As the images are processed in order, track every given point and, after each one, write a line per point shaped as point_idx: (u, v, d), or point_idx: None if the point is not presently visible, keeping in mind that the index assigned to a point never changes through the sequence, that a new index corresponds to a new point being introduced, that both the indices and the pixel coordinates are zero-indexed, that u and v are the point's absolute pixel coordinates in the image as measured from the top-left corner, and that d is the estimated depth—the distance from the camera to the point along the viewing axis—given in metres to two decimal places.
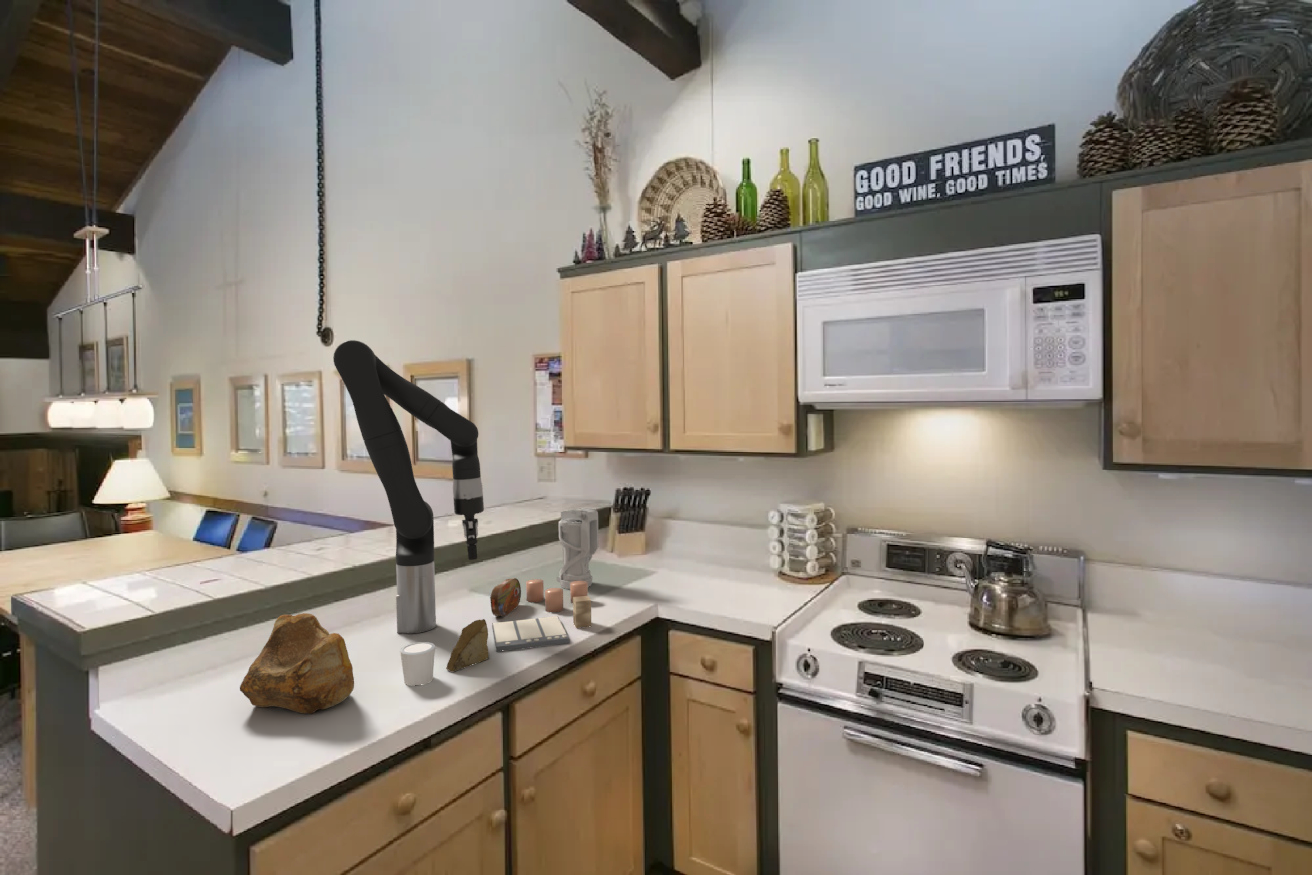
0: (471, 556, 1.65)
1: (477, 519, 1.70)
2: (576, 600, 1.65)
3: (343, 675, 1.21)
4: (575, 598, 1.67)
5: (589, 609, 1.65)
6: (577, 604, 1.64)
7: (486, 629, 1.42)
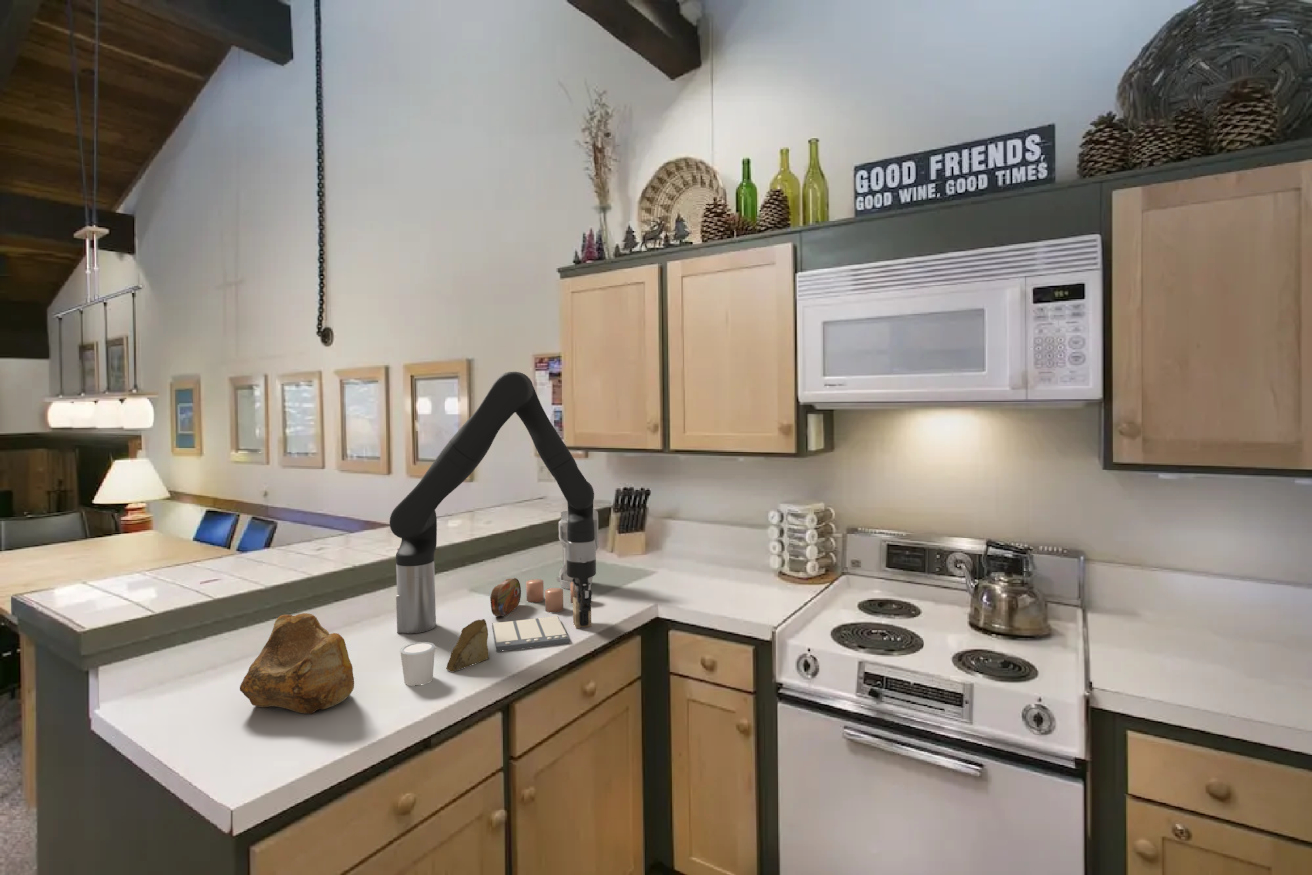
0: (583, 622, 1.63)
1: None
2: (576, 600, 1.65)
3: (343, 675, 1.21)
4: (575, 598, 1.66)
5: None
6: (577, 604, 1.64)
7: (486, 629, 1.42)
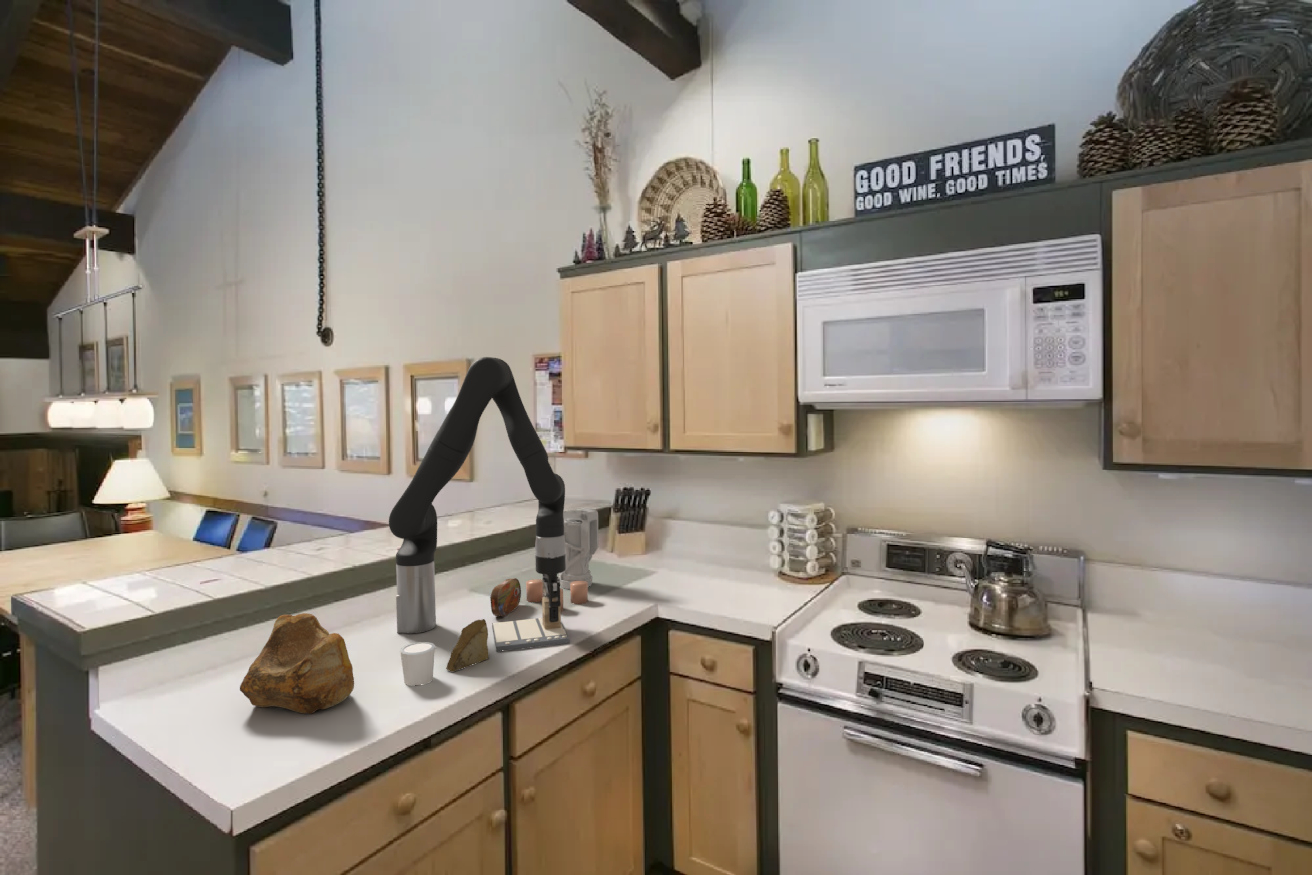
0: (553, 619, 1.57)
1: None
2: (545, 600, 1.60)
3: (343, 675, 1.21)
4: (544, 598, 1.62)
5: (558, 609, 1.61)
6: (546, 604, 1.59)
7: (486, 629, 1.42)
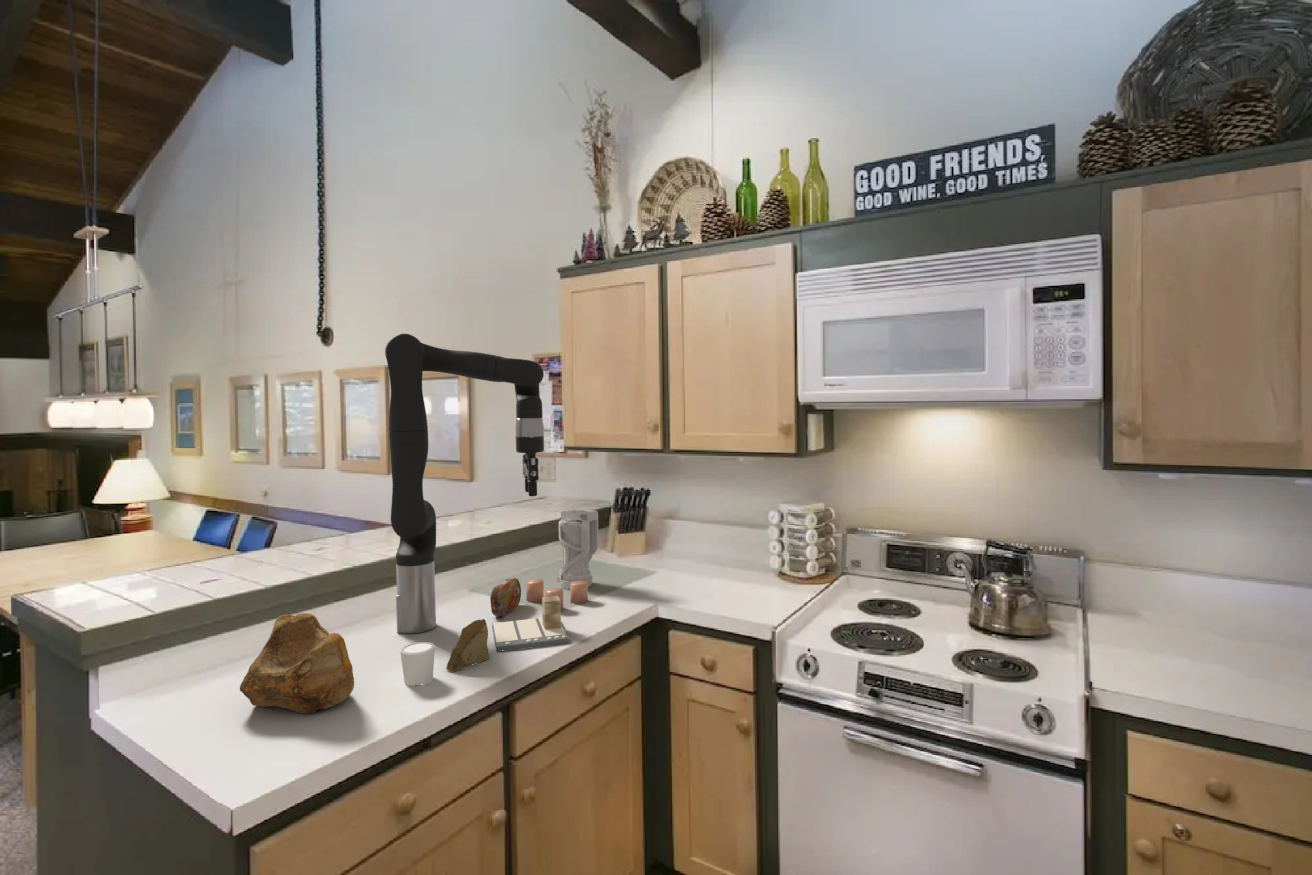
0: (531, 492, 1.70)
1: None
2: (545, 600, 1.60)
3: (343, 674, 1.21)
4: (544, 598, 1.62)
5: (558, 609, 1.61)
6: (546, 604, 1.59)
7: (486, 629, 1.42)
